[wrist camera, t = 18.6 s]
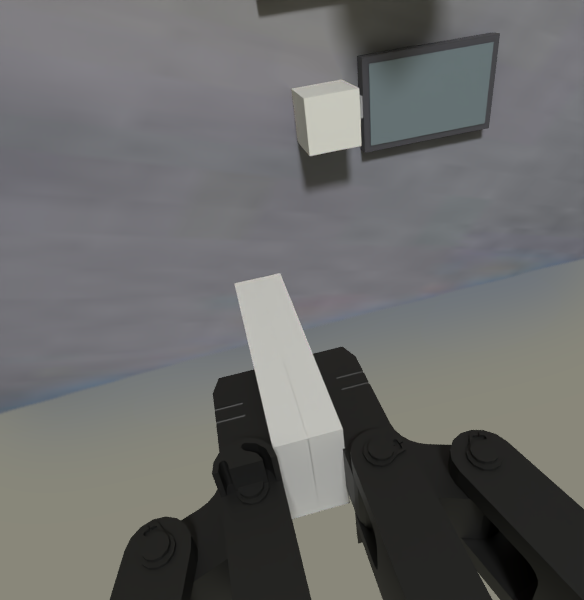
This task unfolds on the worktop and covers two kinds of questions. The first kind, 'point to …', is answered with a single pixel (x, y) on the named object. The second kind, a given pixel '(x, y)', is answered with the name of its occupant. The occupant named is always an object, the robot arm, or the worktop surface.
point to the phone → (426, 91)
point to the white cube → (327, 116)
